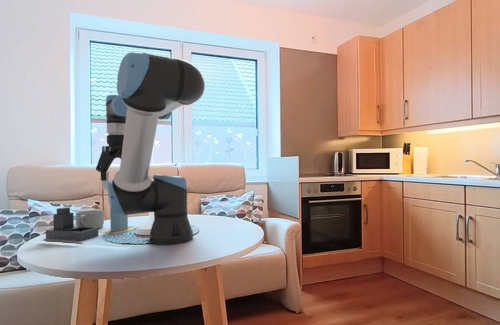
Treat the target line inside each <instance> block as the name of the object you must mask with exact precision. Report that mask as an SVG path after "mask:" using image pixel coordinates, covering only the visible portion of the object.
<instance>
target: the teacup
mask: <svg viewBox="0 0 500 325" xmlns="http://www.w3.org/2000/svg"><path fill="white" fill-rule="evenodd" d="M105 213H106V212H105V210H98V209H96V210H95V209H91V210H90V209H89V210H80V211H77V212H75V226H80V227H97V228H98V230H99V229H101V228H102V227H103V226H104V223H105Z"/></svg>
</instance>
